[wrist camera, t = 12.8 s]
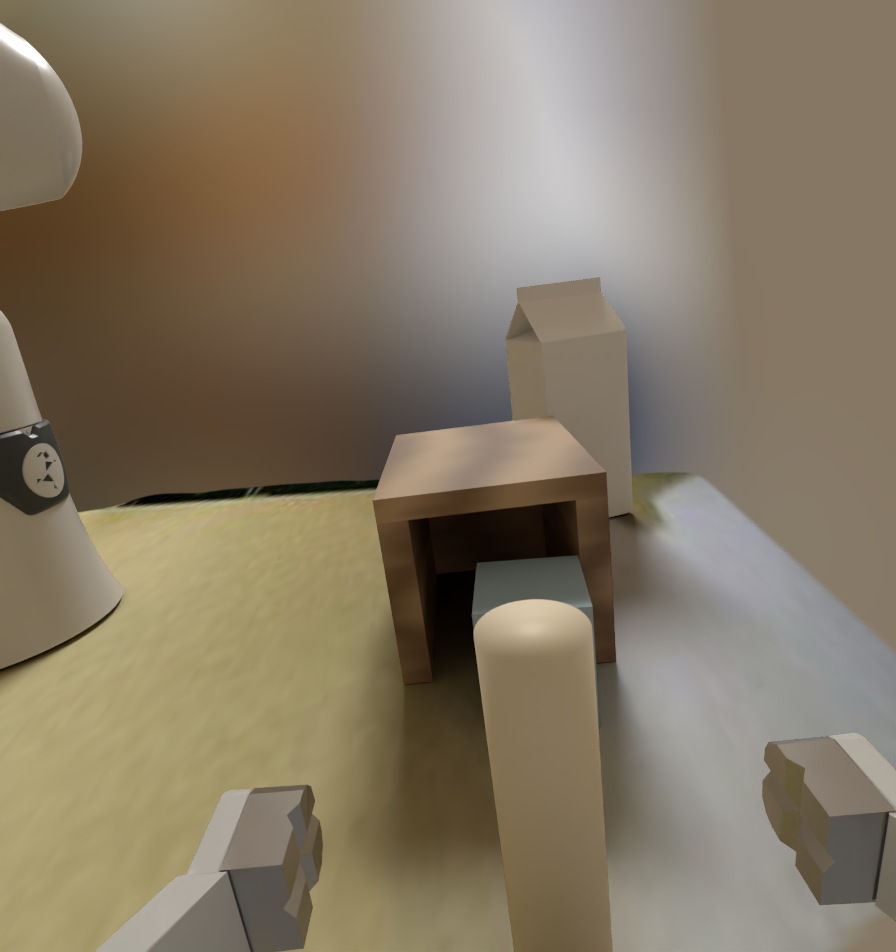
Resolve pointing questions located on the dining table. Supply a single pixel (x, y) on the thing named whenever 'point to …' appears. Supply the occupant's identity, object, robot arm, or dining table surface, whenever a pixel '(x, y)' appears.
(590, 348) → the milk carton
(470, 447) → the walnut cubby
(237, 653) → the dining table surface
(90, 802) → the dining table surface
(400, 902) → the dining table surface
